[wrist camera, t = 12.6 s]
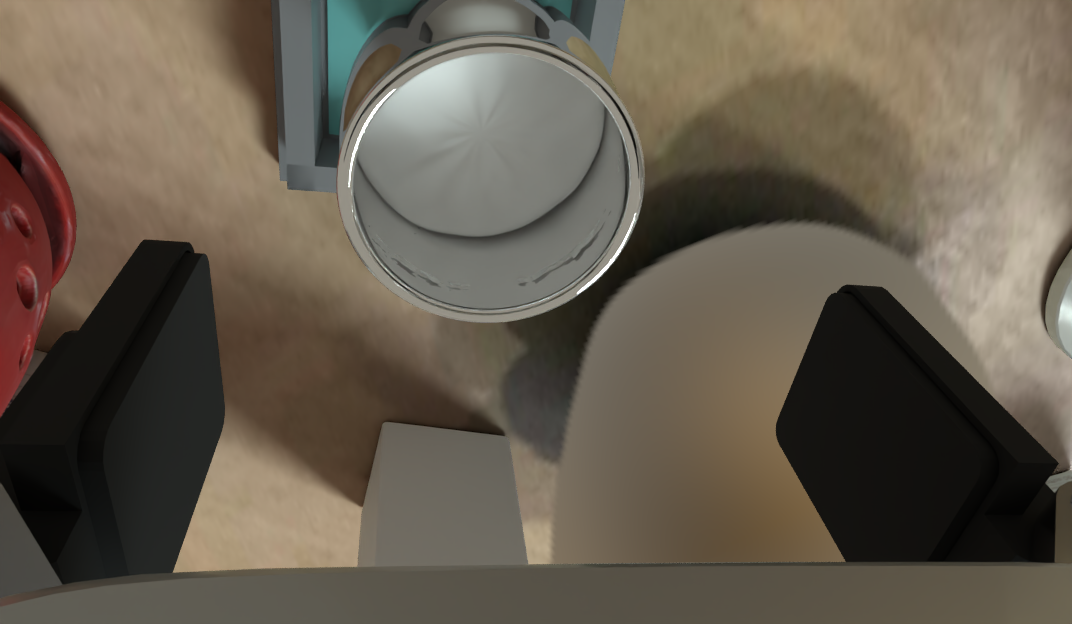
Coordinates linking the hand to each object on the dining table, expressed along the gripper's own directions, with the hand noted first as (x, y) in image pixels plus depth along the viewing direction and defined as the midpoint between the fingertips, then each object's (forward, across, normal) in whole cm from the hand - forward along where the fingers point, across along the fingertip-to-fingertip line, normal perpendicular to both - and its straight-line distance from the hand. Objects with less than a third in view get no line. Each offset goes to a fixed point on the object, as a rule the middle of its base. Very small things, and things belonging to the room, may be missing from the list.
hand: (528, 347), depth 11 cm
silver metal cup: (+21, 0, 0) cm, 21 cm away
